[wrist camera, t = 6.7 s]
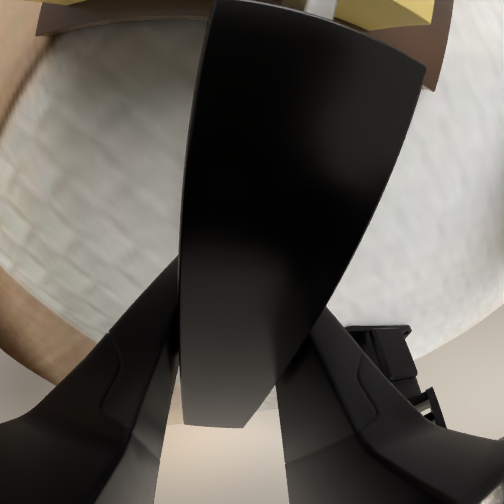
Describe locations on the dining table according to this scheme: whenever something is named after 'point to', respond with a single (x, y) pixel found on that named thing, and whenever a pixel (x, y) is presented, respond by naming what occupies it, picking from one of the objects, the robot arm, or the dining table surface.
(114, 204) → the dining table surface
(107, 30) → the dining table surface
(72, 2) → the butter block
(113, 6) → the butter board
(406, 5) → the butter slice
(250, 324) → the knife
